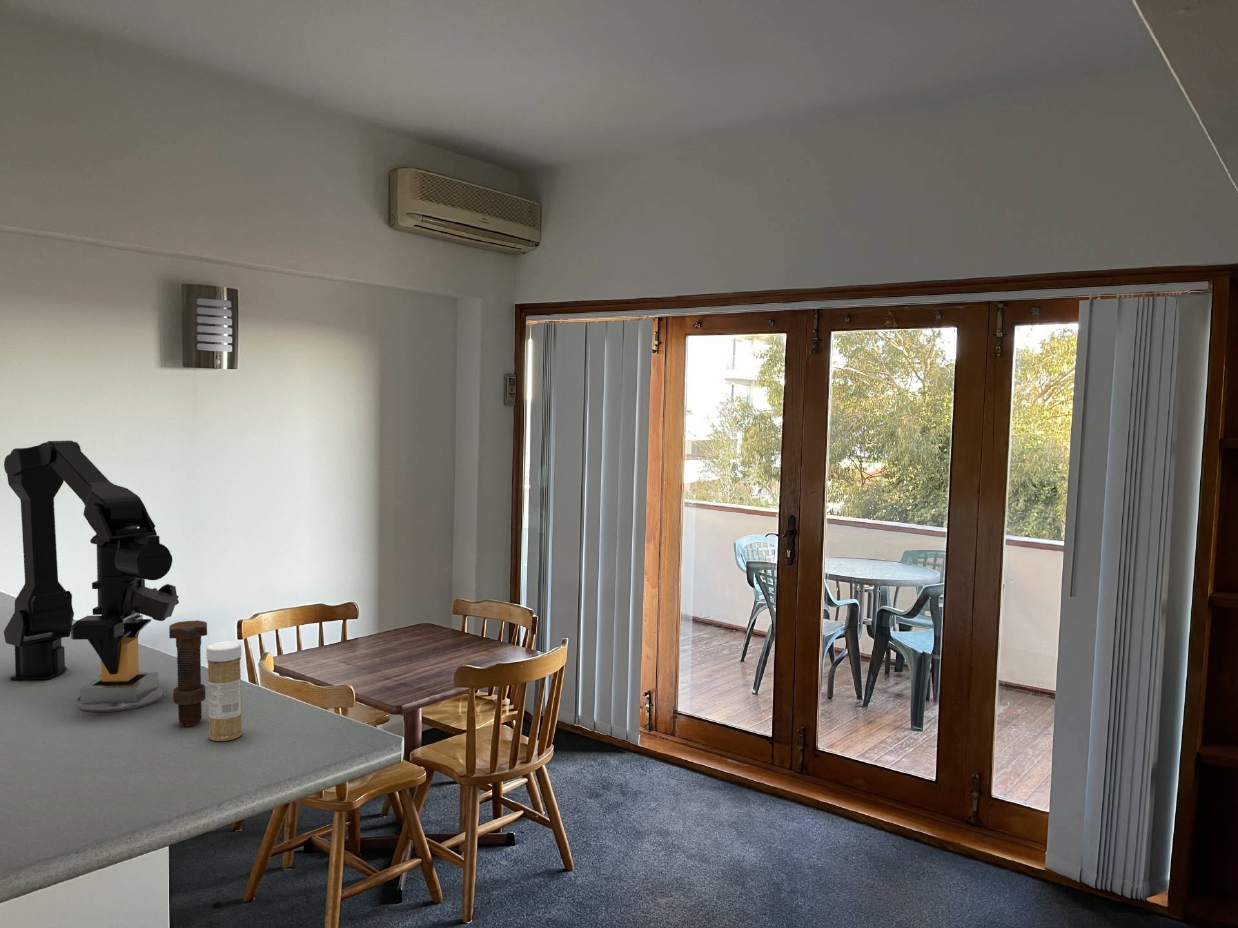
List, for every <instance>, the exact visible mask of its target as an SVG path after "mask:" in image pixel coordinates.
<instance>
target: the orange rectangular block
mask: <svg viewBox="0 0 1238 928" xmlns="http://www.w3.org/2000/svg"><path fill="white" fill-rule="evenodd" d="M139 657H140V656H139V636H138V637H132V638H125V639H124V640H123V641H122V645H121V653H120V662H119V668H118V673H117V674H109V672H108V670H107V669H106V667H105V665H104V664H103V662H102V660H101V659H100V661H101V663H100V665H101V666H100V668H101V669H100V670H101V673H100V674H101V675H102V681H129V680H130V679H132V678H133V677H135V676H136V675H138V674H139V672H140V667H139V666H140V665H139V663H140V662H139Z"/></svg>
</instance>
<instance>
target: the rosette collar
mask: <svg viewBox="0 0 1238 928" xmlns="http://www.w3.org/2000/svg"><path fill="white" fill-rule="evenodd" d="M162 697H163V689H162V688H161V687H160V686H159V672H158V671H147V672H145V671H144V672H143V671H142V672H141V671H139V674H138V675H136V676H135V677H133V678H132V679H130V680H129V681H102V674H101V675H99V676H97V677H95V678H94V679H93V680H91V681H89V682H87V683H86V684H84V685H83V686H80V688H79V697H78V698H77V701H76V702H77V703H76V704H77V708H78V709H79V710H80V711H82V712H83V711H84V712H89V713H115V712H116V713H117V712H123V711H124V712H125V711H131V710H135V709H138V708H143V707H146V706H149V705H153V704H154V703H157V702H158V701H160V700H161V699H162Z"/></svg>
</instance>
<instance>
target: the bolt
mask: <svg viewBox="0 0 1238 928" xmlns="http://www.w3.org/2000/svg"><path fill="white" fill-rule="evenodd" d="M168 631H169V632H168V633H169V639H175V647H176V655H177V656H176V657H177V658H176V662H177V663H176V664H177V665H176V666H177V667H176V668H177V674H176V675H177V686H176V687H175V688H173V690H172V691H173V692H172V696H173V697H172V698H173V703H174V704H176V705H177V706H178V707H177V709H178V710H177V711H178V715H177V716H178V717H177V720H178V723H179V725H180V726H181V727H183V726H186V727H187V728H188V727H193V726H195V725H197V724H199V723H200V722H201V721H202V715H203V714H202V702H204V701H205V700H206V685H204V684H202V675H201V673H202V671H201V670H202V669H201V667H202V666H201V665H202V664H201V663H202V661H201V660H202V659H201V654H202V653H201V652H202V650H201V646H202V637H205V636H208V622H206V621H203V620H186V621H185V620H184V621H178V622H175V623H172V624H170V625H169V629H168Z"/></svg>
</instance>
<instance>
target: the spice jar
mask: <svg viewBox="0 0 1238 928" xmlns="http://www.w3.org/2000/svg"><path fill="white" fill-rule="evenodd" d="M241 659H242V644H241V643H240V642H238V641H234V640H233V641H232V640H231V641H230V640H229V641H219V642H214V643H210V644H208V646H207V647H206V660H207V661H206V663H207V665H208V666H207V670H208V671H207V672H208V674H207V676H208V679H207V689H208V690H207V692H208V693H207V695H208V698H207V700H208V720H209V721H208V722H209V723H208V726H209V733H208V739H210V740H212V741H214V742H227V741H228V742H229V741H233V740H236V739H237V738H240V737H241V736H242V735H243V729H242V710H243V709H242V708H243V707H242V706H243V705H242V698H243V697H242V680H241V674H242V673H241Z"/></svg>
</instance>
